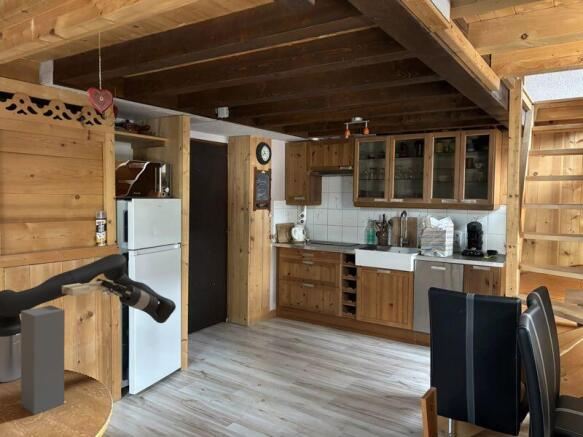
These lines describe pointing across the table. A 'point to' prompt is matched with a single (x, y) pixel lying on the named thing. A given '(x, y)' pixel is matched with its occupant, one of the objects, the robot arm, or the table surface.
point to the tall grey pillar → (42, 358)
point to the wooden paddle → (83, 288)
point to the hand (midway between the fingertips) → (99, 281)
